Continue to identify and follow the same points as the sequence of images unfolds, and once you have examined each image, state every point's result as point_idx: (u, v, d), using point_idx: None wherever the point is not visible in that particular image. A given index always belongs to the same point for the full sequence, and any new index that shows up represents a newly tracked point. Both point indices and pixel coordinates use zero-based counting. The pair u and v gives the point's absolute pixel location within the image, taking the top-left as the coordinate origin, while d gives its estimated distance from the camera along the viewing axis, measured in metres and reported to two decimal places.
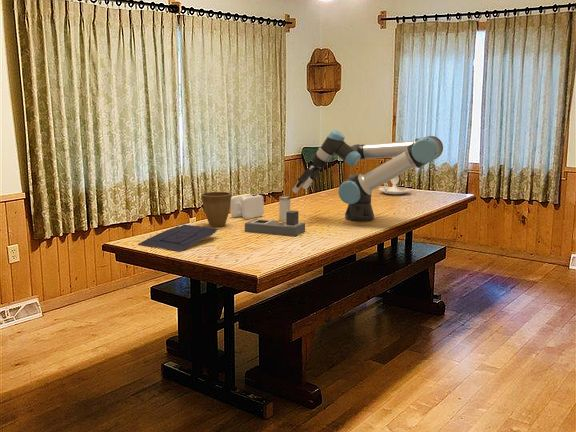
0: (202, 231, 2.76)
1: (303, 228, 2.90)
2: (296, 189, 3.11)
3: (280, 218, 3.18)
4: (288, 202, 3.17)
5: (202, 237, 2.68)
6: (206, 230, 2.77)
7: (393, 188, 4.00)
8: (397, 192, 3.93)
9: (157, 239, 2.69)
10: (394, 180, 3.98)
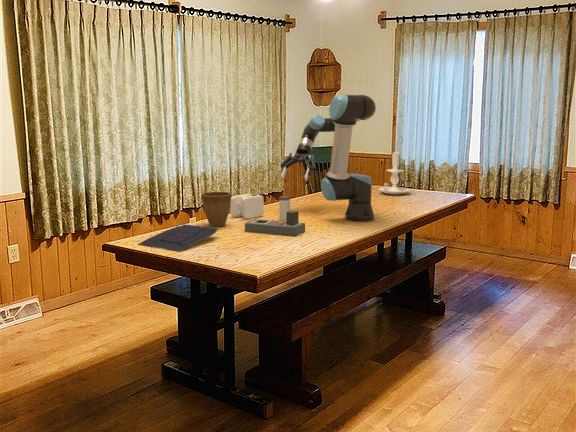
0: (202, 231, 2.76)
1: (303, 228, 2.90)
2: None
3: (280, 218, 3.18)
4: (288, 202, 3.17)
5: (203, 237, 2.68)
6: (206, 230, 2.77)
7: (393, 188, 4.00)
8: (397, 192, 3.93)
9: (157, 239, 2.69)
10: (394, 180, 3.98)
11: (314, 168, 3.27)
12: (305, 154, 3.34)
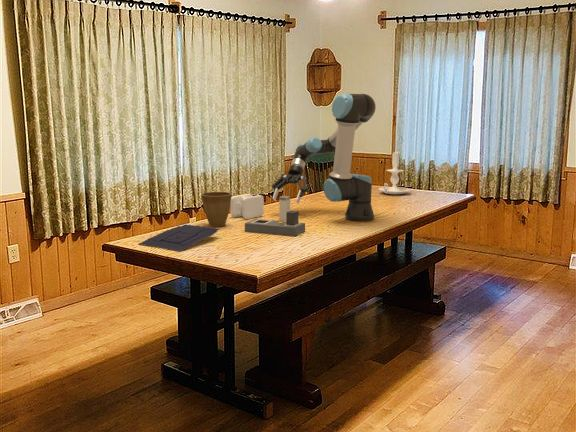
0: (203, 231, 2.77)
1: (303, 228, 2.90)
2: None
3: (280, 218, 3.18)
4: (288, 202, 3.17)
5: (203, 237, 2.68)
6: (207, 230, 2.77)
7: (393, 188, 4.00)
8: (397, 192, 3.93)
9: (158, 239, 2.69)
10: (394, 180, 3.98)
11: (306, 190, 3.22)
12: (297, 175, 3.28)
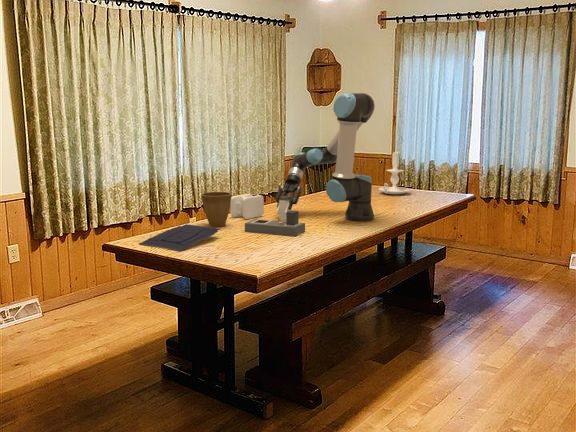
0: (203, 231, 2.77)
1: (303, 228, 2.90)
2: None
3: (280, 218, 3.18)
4: None
5: (204, 237, 2.69)
6: (208, 230, 2.77)
7: (393, 188, 4.00)
8: (397, 192, 3.93)
9: (158, 239, 2.69)
10: (394, 180, 3.98)
11: (294, 202, 3.17)
12: (295, 184, 3.23)
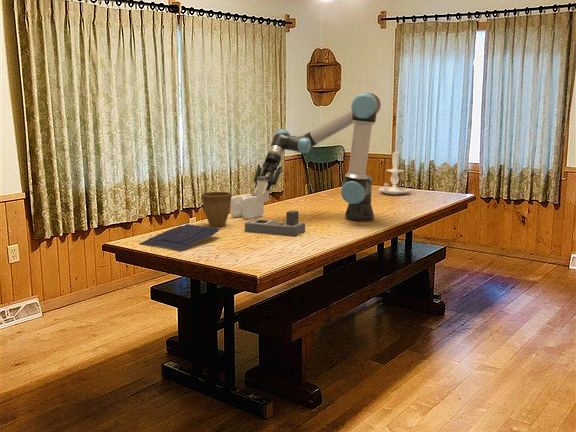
0: (204, 231, 2.77)
1: (303, 228, 2.90)
2: None
3: (258, 199, 3.02)
4: (267, 182, 3.01)
5: (204, 236, 2.69)
6: (208, 230, 2.78)
7: (393, 188, 4.00)
8: (397, 192, 3.93)
9: (159, 239, 2.70)
10: (394, 180, 3.98)
11: (273, 183, 3.00)
12: (275, 163, 3.06)
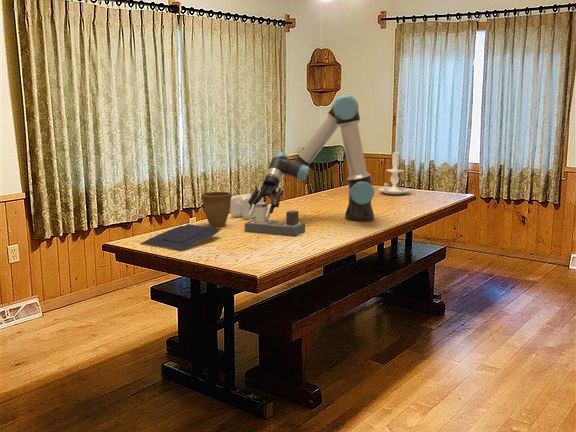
0: (205, 231, 2.77)
1: (303, 228, 2.90)
2: None
3: None
4: (265, 209, 2.92)
5: (205, 236, 2.69)
6: (209, 230, 2.78)
7: (393, 188, 4.00)
8: (397, 192, 3.93)
9: (160, 238, 2.70)
10: (394, 180, 3.98)
11: (276, 205, 2.90)
12: (273, 186, 2.97)
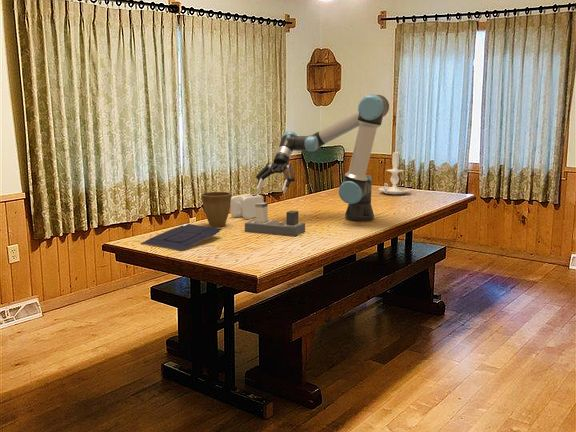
0: (206, 231, 2.77)
1: (303, 228, 2.90)
2: None
3: None
4: (265, 209, 2.92)
5: (205, 236, 2.69)
6: (210, 230, 2.78)
7: (393, 188, 4.00)
8: (397, 192, 3.93)
9: (161, 238, 2.70)
10: (394, 180, 3.98)
11: (293, 179, 3.00)
12: (283, 164, 3.06)
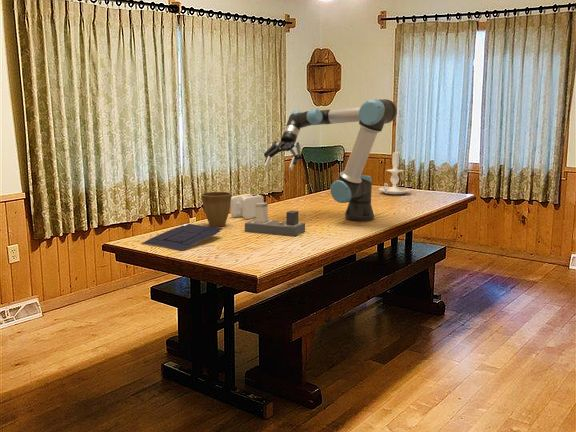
0: (206, 231, 2.77)
1: (303, 228, 2.90)
2: None
3: None
4: (265, 209, 2.92)
5: (206, 236, 2.69)
6: (210, 230, 2.78)
7: (393, 188, 4.00)
8: (397, 192, 3.93)
9: (161, 238, 2.71)
10: (394, 180, 3.98)
11: (300, 157, 3.06)
12: (290, 142, 3.13)
